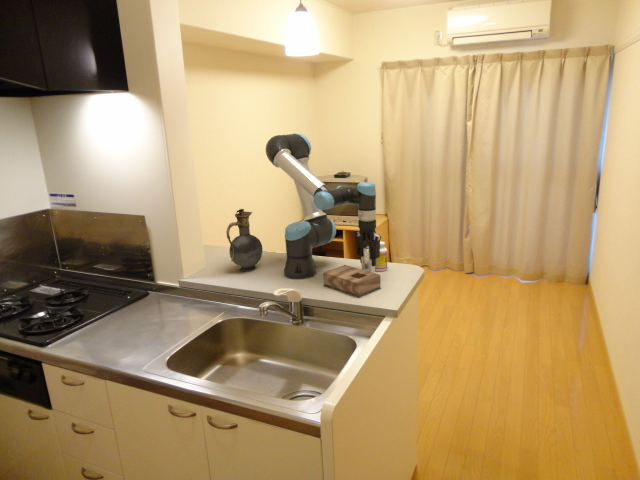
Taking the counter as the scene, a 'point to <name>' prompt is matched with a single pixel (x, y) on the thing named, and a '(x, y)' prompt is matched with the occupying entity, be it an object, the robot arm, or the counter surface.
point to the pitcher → (244, 243)
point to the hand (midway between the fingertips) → (368, 271)
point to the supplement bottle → (381, 258)
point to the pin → (366, 258)
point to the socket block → (352, 280)
